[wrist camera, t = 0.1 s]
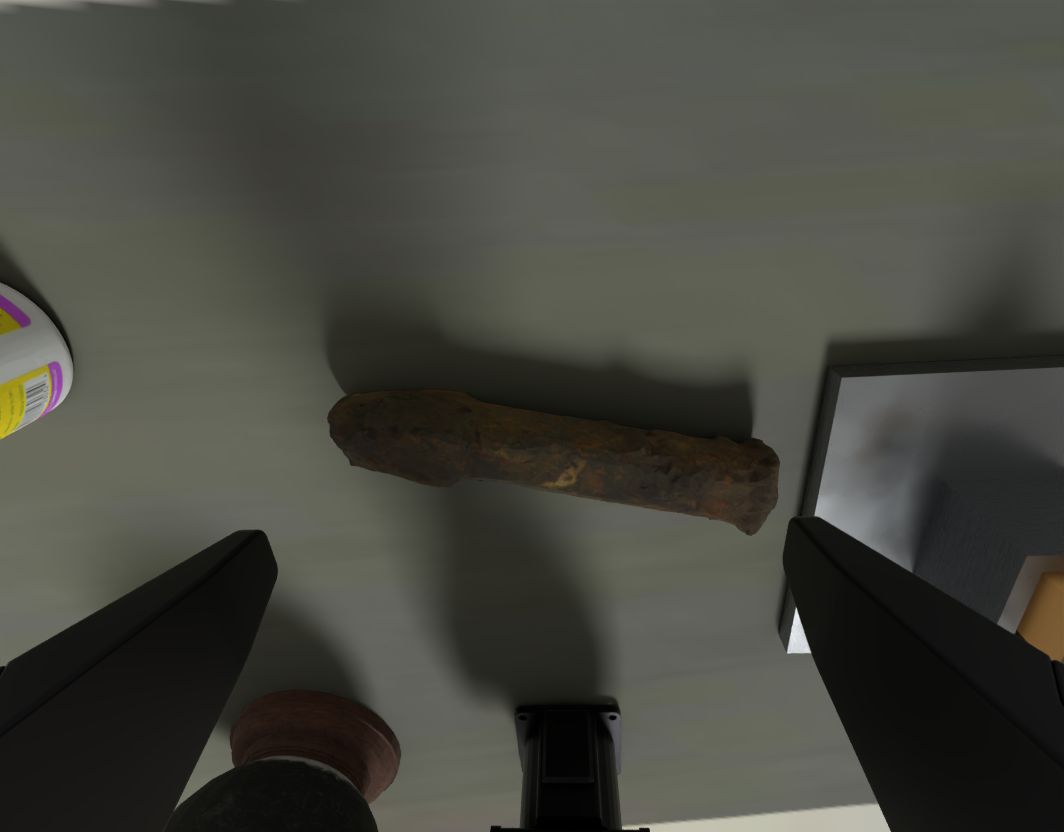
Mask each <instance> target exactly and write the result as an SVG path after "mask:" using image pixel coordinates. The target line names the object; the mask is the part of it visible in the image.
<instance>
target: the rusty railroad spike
mask: <svg viewBox="0 0 1064 832" xmlns="http://www.w3.org/2000/svg"><path fill="white" fill-rule="evenodd" d="M327 419H328V423H329V424H330V437H331V438H332V439H333V441H334V442H335V443H336V445H337V446H338V447H339V448H340V449H341V450H342V451H343V453H344V455H345V456H346V457H347V458H348V459H349V461H350V465H351V466H359V467H362V468H365V469H368V470H371V471H378V472H382V473H387V474H392V475H395V476H398V477H401V478H405V479H408V480H410V481H414V482H417V483H420V484H424V485H429V486H436V487H451V486H452V485H454V484H455V483H457V482H458V481H460V480H461V479H462V478H467V479H471V480H480V481H482V480H486V481H494V482H502V483H510V484H517V485H521V486H523V487H527V488H531V489H537V490H543V491H549V492H554V493H561V494H568V495H572V496H577V497H583V498H589V499H595V500H601V501H606V502H614V503H621V504H626V505H631V506H637V507H643V508H650V509H655V510H660V511H668V512H677V513H685V514H689V515H693V516H702V517H707V518H709V519H713V520H721V521H724V522H728V523H731V524H733V525H735V526H736V527H737V528H738V529H739V530H740V531H742V532H744V533H745V534H747V535H750V536H752V535H753V534H755V533H757V532H758V530H759V529H760V528H761V526H762V525H763V523H764V522H765V520H766V518H767V516H768V515H769V513H770V511H771V510H773V509H774V507H775V506H776V503H777V500H778V488H777V485H778V475H779V466H780V461H779V458H778V456H777V454H776V453H775V452H774V450H773V449H772V448H770V447H769V446H766V445H765V444H764V443H763V441H762V440H759V439H756V438H752V439H749V440H747V441H745V442H743V443H741V444H737V443H736V442H734V441H733V440H731V439H729V438H727V437H725V436H722V435H716V436H715V437H713V438H712V439H706V438H700V437H691V436H685V435H682V434H679V433H676V432H671V431H662V430H659V429H657V430H645V429H639V428H634V427H627V426H622V425H618V424H614V423H612V422H611V421H608V420H605V419H604V420H600V421H596V420H589V419H581V418H576V417H572V416H561V415H555V414H549V413H543V412H537V411H532V410H525V409H519V408H514V407H508V406H503V405H496V404H490V403H484V402H482V401H479V400H477V399H474V398H472V397H471V396H470V395H469V394H468V393H465V392H458V391H449V390H433V389H417V390H389V391H376V392H369V393H360V394H351V395H347V396H345V397H343V398H341V399H340V400H339V401H338V402H337V403H336V404H335V405H334V406H333V408H332V409H331V410H330V412H329V414H328V417H327Z"/></svg>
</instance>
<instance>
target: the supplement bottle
mask: <svg viewBox="0 0 1064 832" xmlns="http://www.w3.org/2000/svg"><path fill="white" fill-rule="evenodd" d="M72 380H73V363H72V359H71V355H70V352H69V349H68V347H67V345H66V342H65V341H64V339H63V337H62V335H61V334H60V332H59V330H58V329H57V328H56V326H55V325H54V324H53V322H52V321H51V320H50V318H49V317H48V316H47V315H46V314H45V313H44V312H43V311H42V310H41V309H40V308H39V307H38V306H37V305H36V304H34V303H33V302H32V301H31V300H29V299H28V298H27V297H25V296H24V295H22V294H21V293H19V292H18V291H16V290H14V289H12V288H11V287H9V286H7V285H5V284H2V283H0V439H2V438H4V437H5V436H7V435H9V434H11V433H13V432H15V431H16V430H18V429H20V428H22V427H24V426H26V425H27V424H29V423H31V422H33V421H35V420H36V419H38V418H40V417H42V416H43V415H45V414H46V413H48V412H49V411H51V410H53V409H54V408H55V407H57V406H58V405H59V404H60V403H61V402H62V401H63V400H64V399H65V397H66V396H67V394H68V392H69V390H70V388H71V385H72Z"/></svg>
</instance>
